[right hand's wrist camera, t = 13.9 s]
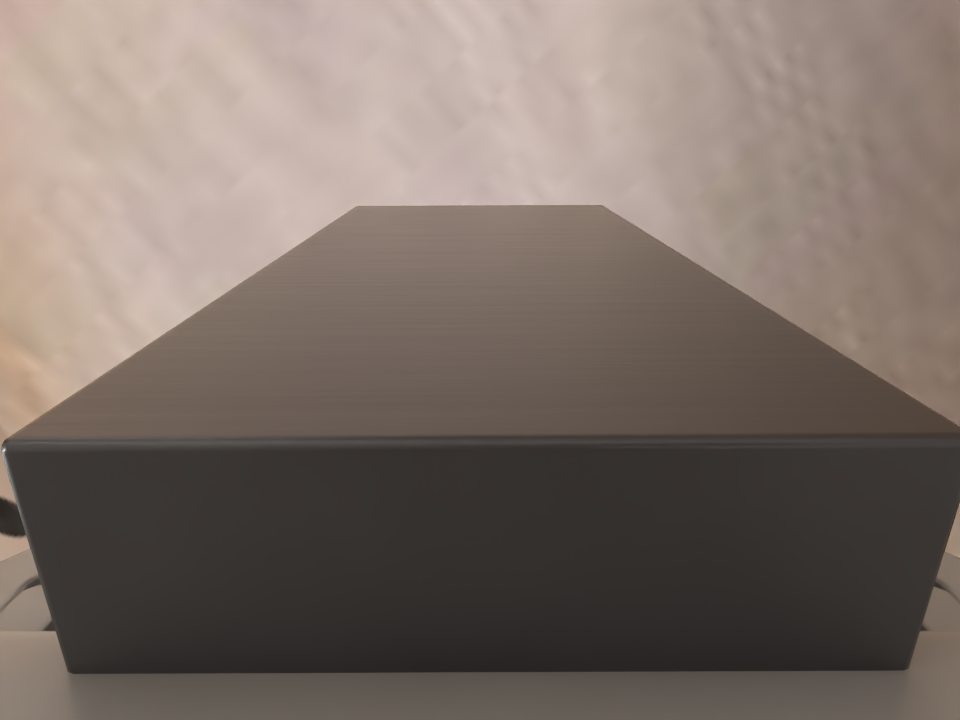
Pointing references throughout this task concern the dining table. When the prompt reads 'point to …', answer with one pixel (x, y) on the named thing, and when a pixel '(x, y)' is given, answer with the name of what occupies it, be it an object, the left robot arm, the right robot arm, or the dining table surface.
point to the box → (486, 469)
